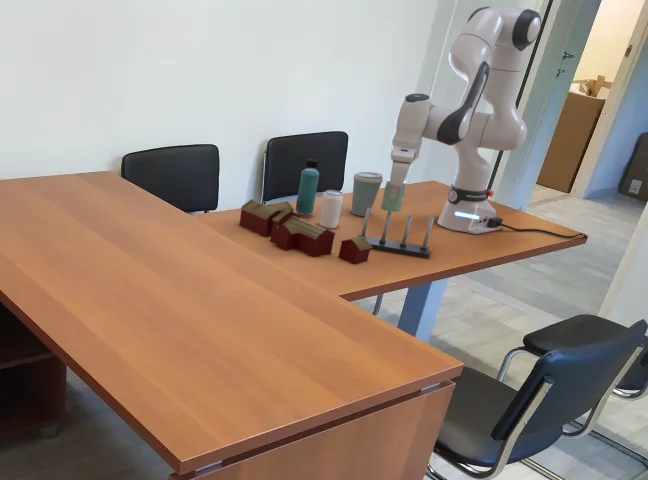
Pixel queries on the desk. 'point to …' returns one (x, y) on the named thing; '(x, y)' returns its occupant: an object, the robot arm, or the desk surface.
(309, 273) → the desk surface
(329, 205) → the can
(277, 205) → the toy houses
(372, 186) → the disposable coffee cup
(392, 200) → the cup
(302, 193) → the beverage bottle
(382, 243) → the dish rack
